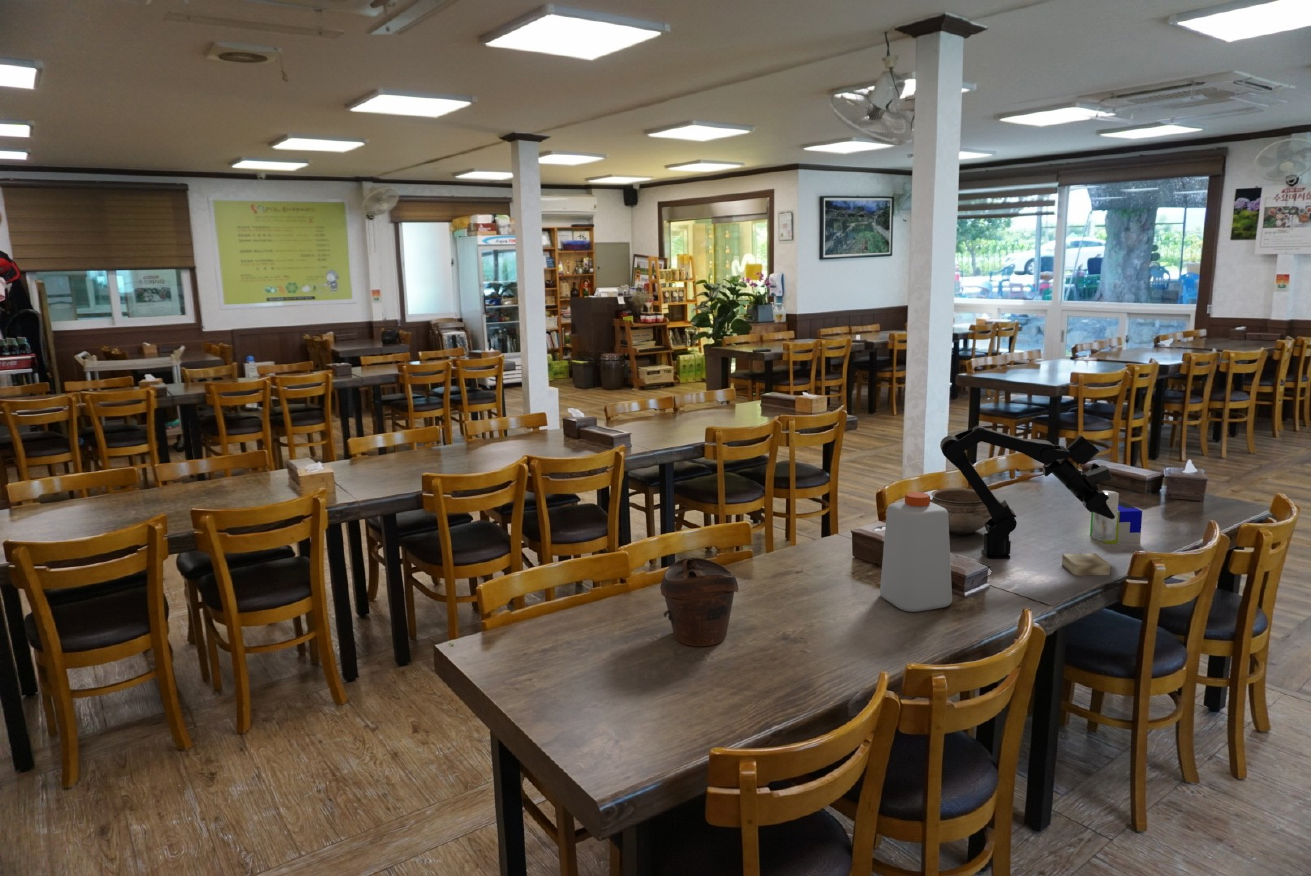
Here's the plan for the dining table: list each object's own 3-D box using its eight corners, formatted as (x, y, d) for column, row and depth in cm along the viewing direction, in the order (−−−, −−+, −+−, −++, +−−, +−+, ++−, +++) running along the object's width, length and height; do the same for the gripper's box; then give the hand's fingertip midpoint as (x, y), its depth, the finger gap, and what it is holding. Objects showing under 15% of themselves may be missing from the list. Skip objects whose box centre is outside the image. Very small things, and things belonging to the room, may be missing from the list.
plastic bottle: (905, 615, 208) (907, 505, 203) (873, 594, 222) (874, 490, 217) (958, 607, 212) (962, 498, 207) (924, 586, 226) (926, 484, 221)
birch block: (1075, 575, 230) (1076, 564, 230) (1061, 564, 239) (1062, 553, 238) (1109, 574, 230) (1110, 564, 229) (1094, 563, 238) (1095, 553, 238)
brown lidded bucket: (688, 613, 214) (686, 545, 211) (755, 632, 202) (754, 560, 199) (643, 638, 201) (639, 566, 198) (711, 659, 188) (709, 583, 185)
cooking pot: (1011, 533, 268) (1013, 496, 265) (979, 547, 256) (981, 508, 253) (940, 518, 287) (941, 483, 284) (908, 530, 275) (908, 493, 272)
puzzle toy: (1140, 543, 254) (1142, 510, 252) (1106, 544, 255) (1108, 512, 253) (1122, 533, 264) (1124, 502, 262) (1090, 534, 264) (1092, 503, 262)
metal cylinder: (1097, 540, 238) (1100, 496, 235) (1088, 534, 243) (1090, 490, 241) (1119, 540, 237) (1122, 495, 235) (1109, 534, 243) (1112, 490, 241)
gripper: (1102, 464, 228) (1145, 505, 227) (1085, 449, 246) (1124, 487, 245) (1068, 491, 231) (1110, 532, 231) (1054, 475, 249) (1093, 513, 249)
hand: (1110, 515), depth 239 cm, fingers closed on metal cylinder, 6 cm apart
